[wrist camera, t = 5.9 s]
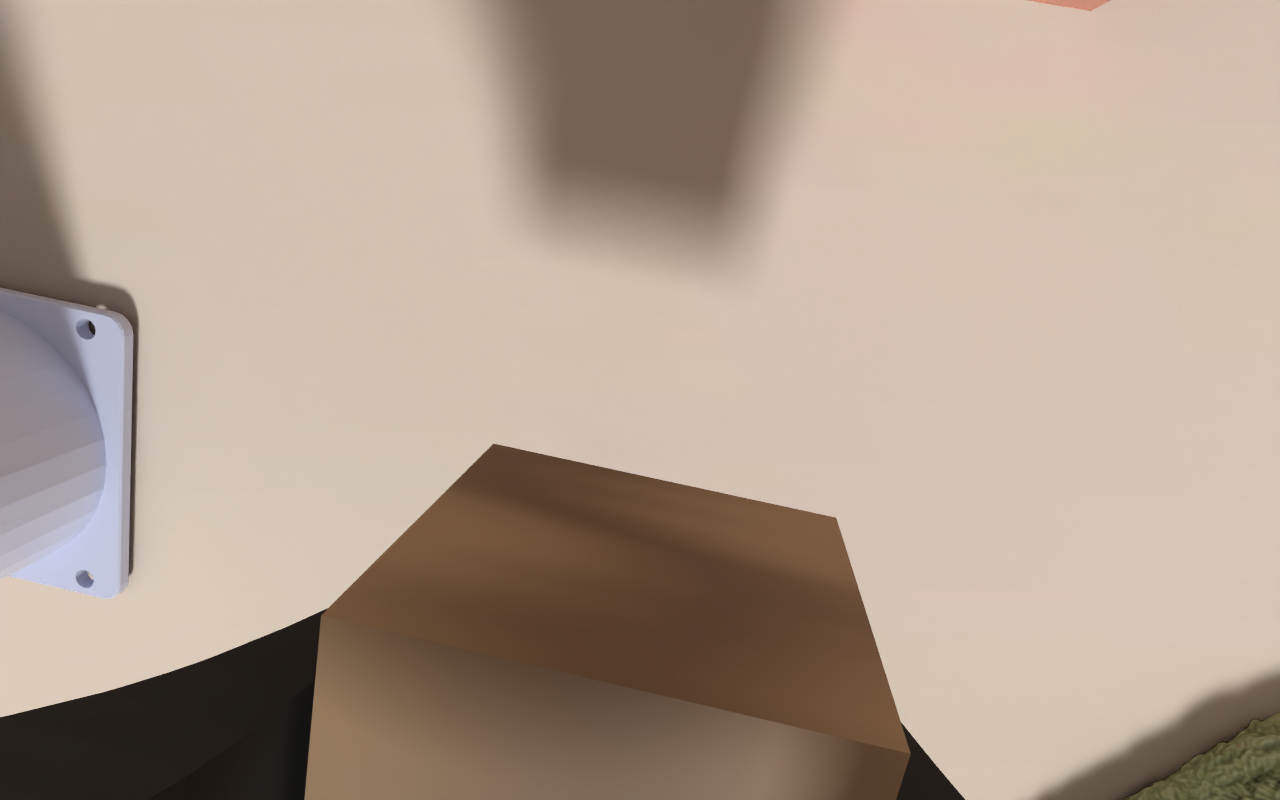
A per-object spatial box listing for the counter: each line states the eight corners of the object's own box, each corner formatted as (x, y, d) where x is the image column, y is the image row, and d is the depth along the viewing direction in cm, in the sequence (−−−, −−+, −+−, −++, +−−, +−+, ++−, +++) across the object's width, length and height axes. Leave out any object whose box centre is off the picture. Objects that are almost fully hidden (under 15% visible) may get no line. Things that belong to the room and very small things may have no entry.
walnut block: (451, 734, 13) (281, 1052, 8) (493, 443, 12) (321, 616, 7) (758, 808, 13) (771, 1187, 8) (836, 517, 11) (910, 753, 6)
